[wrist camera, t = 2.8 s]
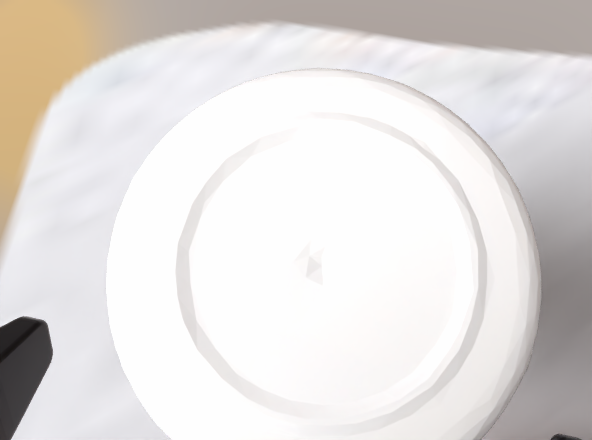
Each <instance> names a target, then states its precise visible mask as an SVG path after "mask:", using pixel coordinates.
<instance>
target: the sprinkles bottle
mask: <svg viewBox="0 0 592 440" xmlns="http://www.w3.org/2000/svg"><path fill="white" fill-rule="evenodd" d="M541 285H542V281H541V268H540V258H539V252H538V248H537V244H536V239H535V235H534V231H533V226H532V223H531V220H530V217H529V215H528V212H527V209H526V206H525V203H524V201H523V199H522V196H521V194H520V192H519V190H518V188H517V186H516V184H515V183H514V181H513V180H512V178H511V176H510V175H509V173H508V171H507V170H506V168H505V167H504V165H503V163H502V162H501V161H500V159H499V158H498V157H497V156H496V154H495V153H494V152H493V150H492V149H491V148H490V146H489V145H488V144H487V143H486V142H485V141H484V140H483V139H482V138H481V137H480V136H479V135H478V134H477V133H476V132H475V131H474V130H473V129H472V128H471V127H470V126H469V125H468V124H467V123H466V122H465V121H463V120H462V119H461V118H460V117H458V116H457V115H456V114H455V113H453V112H452V111H451V110H449V109H448V108H446V107H445V106H443V105H442V104H440V103H439V102H437V101H436V100H434V99H433V98H431V97H429V96H427V95H425V94H423V93H421V92H419V91H417V90H415V89H413V88H411V87H409V86H407V85H404V84H402V83H399V82H396V81H393V80H390V79H387V78H383V77H379V76H376V75H372V74H368V73H362V72H357V71H351V70H341V69H324V68H313V69H302V70H295V71H287V72H280V73H275V74H271V75H267V76H263V77H259V78H256V79H253V80H251V81H248V82H245V83H242V84H240V85H238V86H236V87H233V88H231V89H229V90H227V91H225V92H223V93H221V94H219V95H217V96H215V97H214V98H212V99H211V100H209V101H208V102H206V103H204V104H203V105H201V106H200V107H198V108H197V109H195V110H194V111H193V112H191V113H190V114H189V115H188V116H186V117H185V118H184V119H183V120H181V121H180V122H179V123H178V124H177V125H176V126H175V127H174V128H173V129H172V130H171V131H170V132H169V133H168V134H167V135H166V136H165V137H164V138H163V139H162V140H161V141H160V142H159V144H158V145H157V146H156V147H155V148H154V149H153V150H152V152H151V153H150V154H149V155H148V157H147V158H146V160H145V162H144V163H143V165H142V166H141V168H140V169H139V170H138V172H137V173H136V175H135V176H134V178H133V180H132V182H131V184H130V186H129V190H128V192H127V194H126V195H125V198H124V200H123V203H122V205H121V208H120V210H119V213H118V215H117V219H116V222H115V226H114V230H113V233H112V239H111V244H110V249H109V255H108V264H107V303H108V313H109V320H110V328H111V331H112V335H113V339H114V343H115V348H116V351H117V353H118V355H119V358H120V362H121V365H122V368H123V370H124V372H125V374H126V376H127V378H128V379H129V381H130V383H131V385H132V387H133V389H134V391H135V393H136V395H137V397H138V399H139V400H140V402H141V404H142V405H143V406H144V408H145V409H146V411H147V412H148V414H149V415H150V416H151V418H152V419H153V421H154V422H155V423H156V424H157V425H158V426H159V427H160V428H161V429H162V431H163V432H164V433H165V434H166V435H167V436H168V437H169V438H170V439H171V440H481V439H482V438H483V437H484V435H485V434H486V433H487V432H488V431H489V430H490V429H491V428H492V426H493V425H494V424H495V422H496V421H497V419H498V418H499V417H500V415H501V414H502V413H503V411H504V410H505V408H506V406H507V405H508V403H509V401H510V400H511V398H512V396H513V395H514V393H515V391H516V389H517V387H518V385H519V383H520V381H521V379H522V377H523V375H524V374H525V372H526V370H527V367H528V364H529V361H530V358H531V355H532V350H533V345H534V340H535V338H536V336H537V331H538V323H539V315H540V307H541Z"/></svg>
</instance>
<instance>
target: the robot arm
mask: <svg viewBox="0 0 592 440" xmlns="http://www.w3.org/2000/svg"><path fill="white" fill-rule="evenodd" d="M52 356H53V349H52V344H51V339H50V334H49V329H48V325H47V323H46V322H45V321H44V320H41V319H36V318H32V317H27V316H23V317H19V318H17V319H15V320H13V321H11V322H9V323H7V324H6V325H4V326H2V327H0V440H11V438H12V436H13V435H14V433H15V431H16V429H17V427H18V425H19V423H20V421H21V419H22V418H23V416H24V414H25V412H26V410H27V408H28V406H29V404H30V402H31V400H32V398H33V396H34V394H35V392H36V390H37V388H38V387H39V385H40V383H41V381H42V379H43V377H44V375H45V373H46V371H47V369H48V367H49V365H50V363H51V360H52ZM551 440H582V439H579V438H576V437H572V436H567V435H563V434H557V435H554V436H553V437H552V438H551Z"/></svg>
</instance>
